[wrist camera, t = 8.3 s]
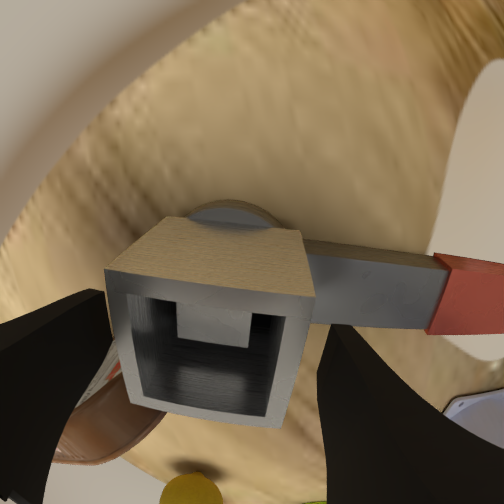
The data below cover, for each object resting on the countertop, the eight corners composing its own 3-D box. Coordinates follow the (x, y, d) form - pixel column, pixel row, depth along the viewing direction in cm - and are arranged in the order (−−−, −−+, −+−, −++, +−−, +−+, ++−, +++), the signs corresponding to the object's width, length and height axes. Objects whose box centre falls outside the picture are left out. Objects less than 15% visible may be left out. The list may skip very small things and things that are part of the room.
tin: (72, 394, 20) (27, 465, 12) (46, 366, 19) (-6, 436, 11) (206, 336, 16) (162, 472, 8) (169, 292, 15) (93, 420, 7)
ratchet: (528, 249, 12) (571, 278, 8) (496, 331, 15) (527, 369, 11) (169, 193, 13) (127, 219, 9) (170, 308, 15) (141, 361, 11)
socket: (300, 230, 11) (316, 297, 7) (281, 340, 13) (280, 428, 9) (167, 215, 12) (103, 268, 7) (169, 324, 13) (130, 402, 9)
